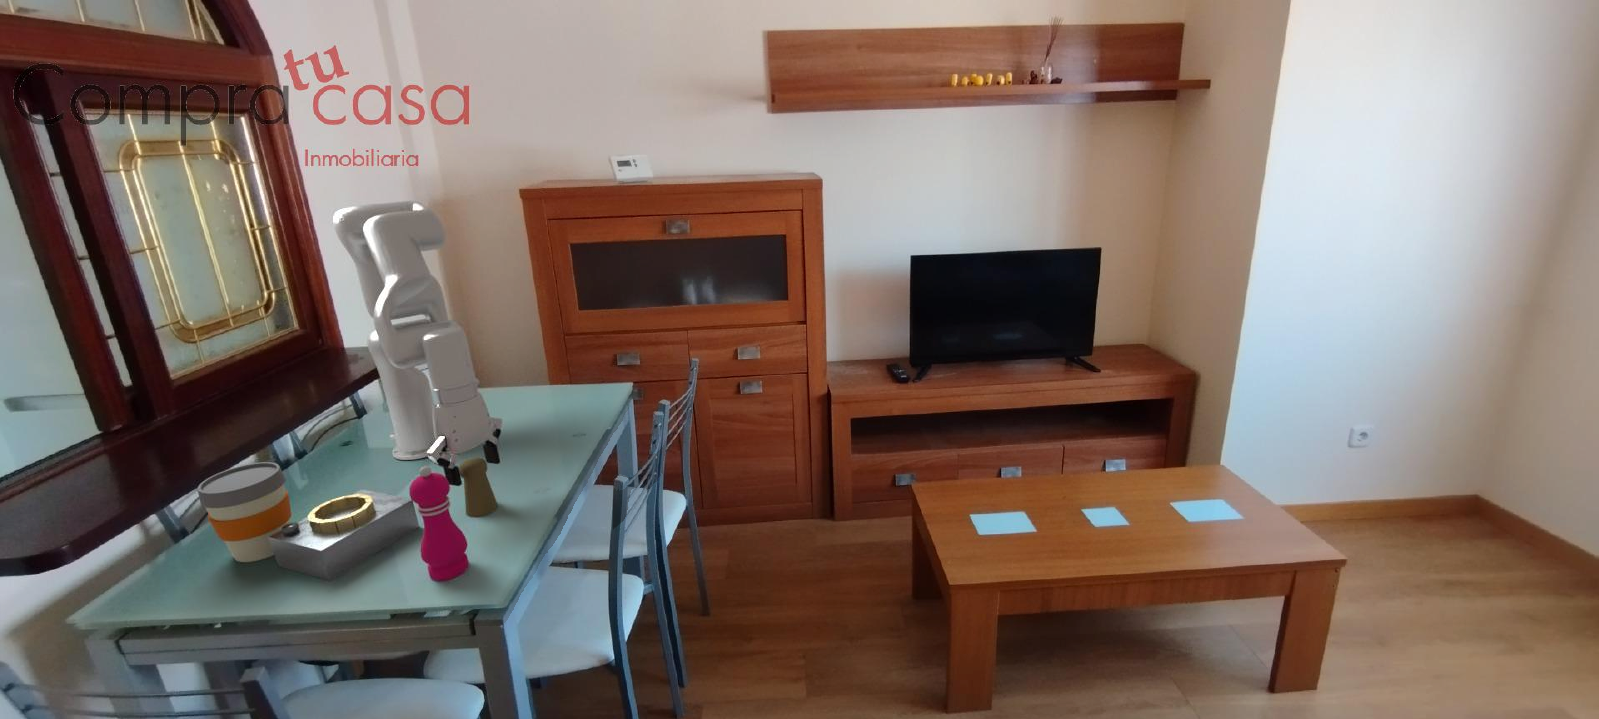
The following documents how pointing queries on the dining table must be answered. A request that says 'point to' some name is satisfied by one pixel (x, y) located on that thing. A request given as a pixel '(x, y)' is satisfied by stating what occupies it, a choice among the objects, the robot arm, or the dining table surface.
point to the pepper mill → (438, 527)
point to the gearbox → (343, 533)
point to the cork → (477, 488)
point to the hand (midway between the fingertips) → (474, 473)
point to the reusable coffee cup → (247, 508)
